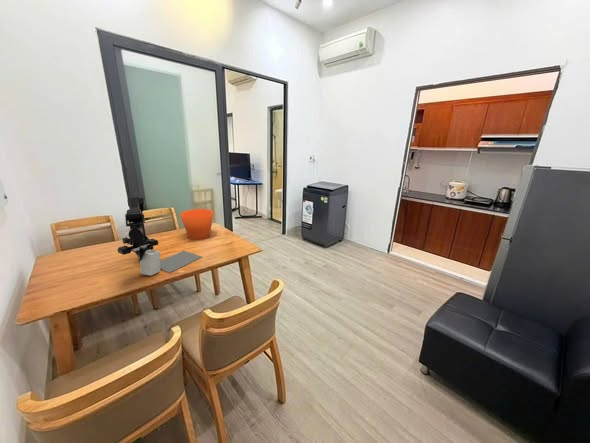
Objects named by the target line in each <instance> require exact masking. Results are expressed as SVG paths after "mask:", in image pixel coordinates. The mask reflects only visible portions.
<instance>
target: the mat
mask: <svg viewBox="0 0 590 443" xmlns="http://www.w3.org/2000/svg"><path fill="white" fill-rule="evenodd" d="M202 258H203V256H201V255H198V254H195V253H192V252H190V251H186V250H182V251H180V252H178V253H175V254H173V255H171V256H167V257H166V258H164V259H160V271H163V272H164V273H168V274H171V273H173V272H176V271H178V270H180V269H182V268H183V267H186V266H187V265H190V264H193V262H195V261H198V260H200V259H202Z"/></svg>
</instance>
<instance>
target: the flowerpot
mask: <svg viewBox="0 0 590 443" xmlns="http://www.w3.org/2000/svg"><path fill="white" fill-rule="evenodd" d="M214 215H215V214H214V211H213V210H212V209H206V208H194V209H188V210H185V211H182V212H180V213H179V216H180V219H181V221H182V224H183V226H184V230H185V231H186V234H187V237H188V239H189V240H192V241H201V240H207V239H209V238H210V236H211V231H212V226H213V225H212V224H213V221H214V220H213V219H214Z"/></svg>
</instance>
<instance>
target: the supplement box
mask: <svg viewBox="0 0 590 443" xmlns="http://www.w3.org/2000/svg"><path fill="white" fill-rule="evenodd" d="M160 261H161V251H160V250H154V249H152V250H147V251H146V252H145V254H144V256H143V258H142V261H140V260H139V274H141V275H145V276H154V275H155V274H157V273H160V272H161V270H160Z"/></svg>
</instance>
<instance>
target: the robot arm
mask: <svg viewBox="0 0 590 443" xmlns="http://www.w3.org/2000/svg"><path fill="white" fill-rule="evenodd" d="M145 202H146V201H145V199H144V198H142V197H140V196H138V195H137V196H136V195H134V196H129V197H128V198H127V207H129V209H127V210H126V213H125V214H124V215H125V216H124V217H125V219H124V220H125V227H129V231H128V237H129V238H128V237H123V238H121V239H122V243H123V244H124V245H122V246H119V247H117V254H118V253H119V254H120V255H124V256H125V255H127V254H128V255H129V254H131V252H133V253H135V254H136V256H137V258H138V260H139V262H140V261H142V258H143V256H144V254H145V252H146V251H147V250H154V247H155V246H158V245H159V241H158V240H157V239H155V238H149V237H148V236H147V234H146V233H147V232H146V227H145V223H146V221H145V220H146V219H145V214H144V213H143V212H144V210H145V206H146V203H145ZM125 244H127V245H125ZM128 245H130V246H128Z"/></svg>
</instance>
